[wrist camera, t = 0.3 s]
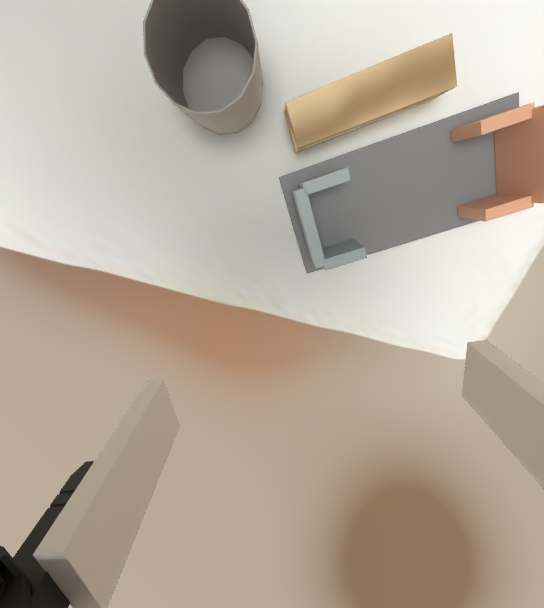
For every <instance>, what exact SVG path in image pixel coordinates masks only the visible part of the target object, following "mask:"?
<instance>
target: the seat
mask: <svg viewBox="0 0 544 608" xmlns="http://www.w3.org/2000/svg"><path fill="white" fill-rule="evenodd" d="M518 107H519V92H518V93H515V94H513V95H510V96H507V97H504V98H501V99H498V100H496V101H493V102H490V103H487V104H484V105H482V106H479V107H476V108H473V109H470V110H468V111H465V112H462V113H459V114H456V115H453V116H451V117H448V118H445V119H442V120H439V121H437V122H434V123H431V124H428V125H425V126H423V127H420V128H417V129H414V130H411V131H409V132H406V133H403V134H400V135H397V136H394V137H392V138H389V139H386V140H383V141H380V142H378V143H375V144H372V145H369V146H366V147H364V148H361V149H358V150H355V151H352V152H349V153H347V154H344V155H341V156H338V157H335V158H333V159H330V160H327V161H324V162H321V163H319V164H316V165H313V166H310V167H307V168H304V169H302V170H299V171H296V172H293V173H290V174H288V175H285V176H282V177H279V179H280V183H281V186H282V190H283V193H284V196H285V200H286V203H287V207H288V210H289V214H290V217H291V220H292V224H293V227H294V231H295V234H296V237H297V241H298V244H299V248H300V251H301V255H302V258H303V261H304V265H305V268H306V272H307V273H310V272H314V271H317V270H320V269H323V268H325V270H328V269H331V268H334V267H337V266H341V265H344V264H347V263H351V262H354V261H357V260H360V259H364V258H367V256H366V255H369V254H372V253H375V252H379V251H382V250H385V249H388V248H392V247H395V246H398V245H401V244H405V243H408V242H411V241H414V240H418V239H421V238H424V237H427V236H431V235H434V234H437V233H440V232H444V231H447V230H450V229H453V228H457V227H460V226H463V225H467V224H470V223H473V222H476V221H480V220H476V219H470V218H464V217H459V216H458V208H457V206H460V205H463V204H466V203H469V202H473V201H476V200H479V199H482V198H485V197H488V196H492V195H495V194H497V192H496V165H495V138H494V131H492V132H489V133H486V134H483V135H480V136H476V137H472V138H467V139H463V140H459V141H455V142H452V138H451V130H453V129H456V128H459V127H461V126H464V125H467V124H470V123H473V122H476V121H479V120H481V119H484V118H487V117H490V116H493V115H496V114H499V113H502V112H505V111H508V110H512V109H515V108H518Z"/></svg>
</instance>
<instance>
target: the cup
mask: <svg viewBox="0 0 544 608" xmlns="http://www.w3.org/2000/svg"><path fill="white" fill-rule="evenodd" d="M143 29H144V55H145V58H146V61H147V63H148V66H149V68H150V71H151V73H152V76H153V79H154V81H155V84H156V85H157V86H158V87H159V88H160V89H161V90H162V91H163V92H164V94H165V95H166V96H167V97H168V98H169V99H170V100H171V101H172V102H173V103H174V105H176V106H177V107H178V108H180V109H181V110H182V111H183V112H185V113H186V114H187V115H188V116H190V117H191V118H192V119H194V120H195V121H196V122H197V123H199V124H200V125H201V126H203V127H204V128H206V129H209V130H211V131H213V132H216V133H218V134H229V133H237V132H239V131H240V130H242V129H243V128H244V127H246V126H247V125H249V124H250V123H251V122H252V121H253V119H254V117H255V115H256V113H257V112H258V110H259V108H260V106H261V98H262V89H263V81H262V73H261V66H260V58H259V51H258V43H257V38H256V35H255V31H254V27H253V24H252V20H251V16H250V12H249V9H248V8H247V6H246V5H245V4H244V2H243V1H242V0H152V1H151V3H150V6H149V8H148V11H147V14H146V16H145V19H144V21H143Z"/></svg>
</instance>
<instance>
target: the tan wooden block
mask: <svg viewBox="0 0 544 608" xmlns="http://www.w3.org/2000/svg"><path fill="white" fill-rule="evenodd" d="M456 86H457V81H456V70H455V59H454V49H453V38H452V33H451V34H449V35H446V36H444V37H441V38H439V39H437V40H434V41H432V42H429V43H427V44H425V45H422V46H420V47H417V48H415V49H413V50H410V51H408V52H405V53H403V54H401V55H398V56H396V57H393V58H391V59H388V60H386V61H384V62H381V63H379V64H376V65H374V66H372V67H369V68H367V69H364V70H362V71H360V72H357V73H355V74H352V75H350V76H348V77H345V78H343V79H340V80H338V81H336V82H333V83H331V84H328V85H326V86H324V87H321V88H319V89H316V90H314V91H312V92H309V93H307V94H304V95H302V96H299V97H297V98H295V99H292V100H290V101H287V102H286V104H285V112H284V114H285V118H286V121H287V125H288V128H289V132H290V135H291V139H292V142H293V146H294V149H295V153H297V152H299V151H302V150H304V149H307V148H310V147H312V146H315V145H317V144H320V143H322V142H325V141H328V140H330V139H333V138H335V137H338V136H340V135H343V134H345V133H348V132H351V131H353V130H356V129H358V128H361V127H363V126H366V125H369V124H371V123H374V122H376V121H379V120H381V119H384V118H387V117H389V116H392V115H394V114H397V113H399V112H402V111H405V110H407V109H410V108H412V107H415V106H417V105H420V104H423V103H425V102H428V101H430V100H432V99H434V98H436V97H438V96H440V95H442V94H443V93H445V92H447V91H449V90H451V89H453V88H455V87H456Z"/></svg>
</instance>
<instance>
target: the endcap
mask: <svg viewBox="0 0 544 608" xmlns="http://www.w3.org/2000/svg"><path fill="white" fill-rule="evenodd" d="M492 131H494V138H495V165H496V192H497V194H495V195H492V196H488V197H485V198H482V199H479V200H476V201H473V202H469V203H466V204H463V205H460V206H457V208H458V216H459V217H464V218H470V219H476V220H481V221H489V220H492V219H495V218H499V217H502V216H505V215H508V214H512V213H515V212H518V211H521V210H525V209H528V208H531V207H533V204H534V203H544V105H542V106H538V107H535V108H534V103H530V104H527V105H524V106H521V107H518V108H515V109H512V110H508V111H505V112H502V113H499V114H496V115H493V116H490V117H487V118H484V119H481V120H479V121H476V122H473V123H470V124H467V125H464V126H461V127H459V128H456V129H453V130H451V138H452V142H455V141H459V140H463V139H467V138H472V137H476V136H480V135H483V134H486V133H489V132H492Z"/></svg>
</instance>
